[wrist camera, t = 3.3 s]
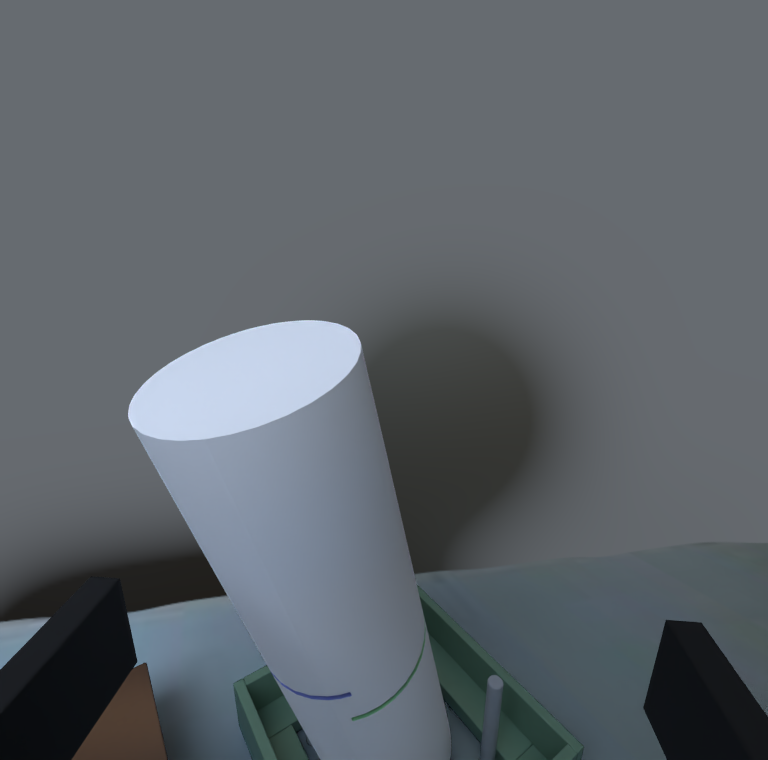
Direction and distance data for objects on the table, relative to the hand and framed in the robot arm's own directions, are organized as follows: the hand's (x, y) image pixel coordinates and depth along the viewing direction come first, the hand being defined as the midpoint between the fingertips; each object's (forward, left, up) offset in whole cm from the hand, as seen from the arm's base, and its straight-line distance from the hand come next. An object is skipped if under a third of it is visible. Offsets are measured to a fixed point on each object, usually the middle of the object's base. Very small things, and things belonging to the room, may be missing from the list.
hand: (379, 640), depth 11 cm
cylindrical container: (+8, -6, -19) cm, 21 cm away
